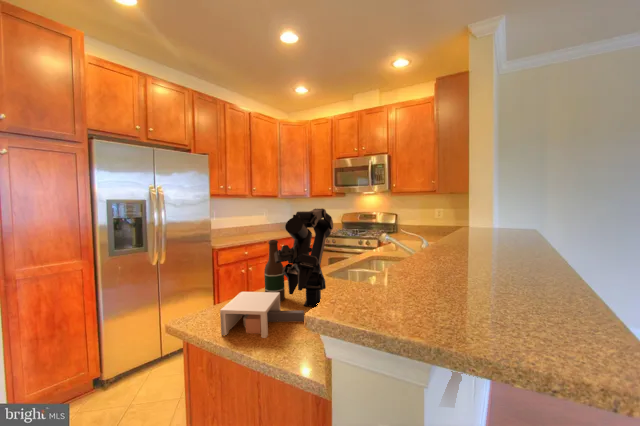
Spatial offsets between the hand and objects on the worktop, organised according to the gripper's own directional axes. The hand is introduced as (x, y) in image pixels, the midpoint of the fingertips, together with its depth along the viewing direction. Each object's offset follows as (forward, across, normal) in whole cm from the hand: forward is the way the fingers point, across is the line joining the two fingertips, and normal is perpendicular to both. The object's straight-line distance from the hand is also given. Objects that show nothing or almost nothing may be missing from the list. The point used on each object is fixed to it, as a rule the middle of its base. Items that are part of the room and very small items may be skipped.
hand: (295, 292), depth 90 cm
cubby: (+10, -12, -9) cm, 18 cm away
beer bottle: (-1, -29, +1) cm, 29 cm away
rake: (+9, -11, -2) cm, 14 cm away
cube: (+12, -9, -8) cm, 17 cm away
